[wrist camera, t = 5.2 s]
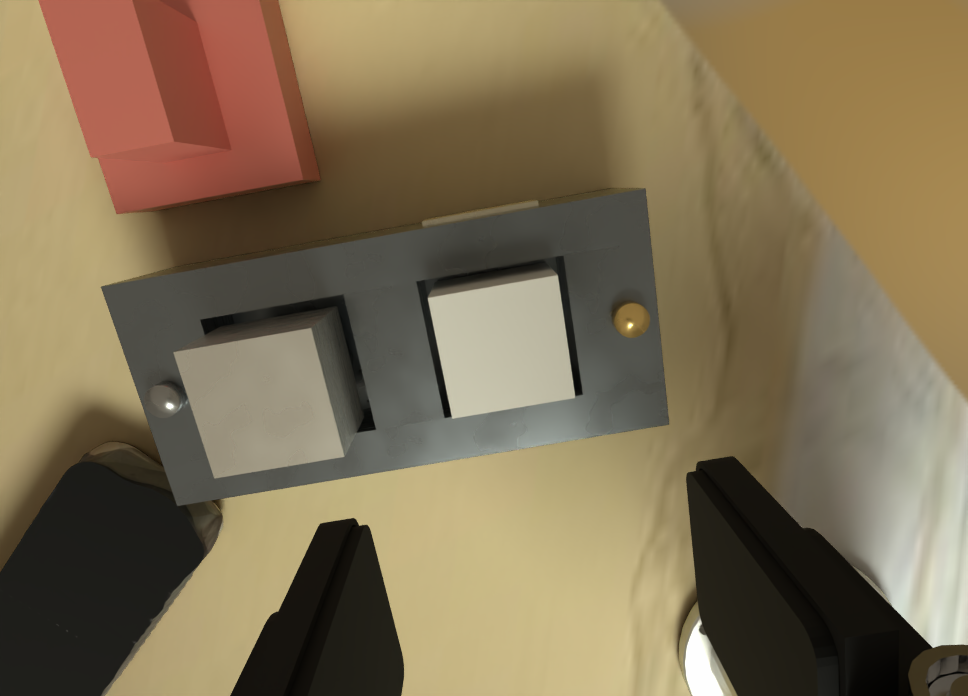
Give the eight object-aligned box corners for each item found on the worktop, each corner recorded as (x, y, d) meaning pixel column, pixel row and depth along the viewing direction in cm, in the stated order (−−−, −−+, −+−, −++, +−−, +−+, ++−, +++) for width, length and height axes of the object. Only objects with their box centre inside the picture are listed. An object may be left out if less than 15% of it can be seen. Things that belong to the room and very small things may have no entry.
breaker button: (561, 368, 28) (575, 398, 24) (455, 386, 28) (452, 418, 24) (545, 262, 26) (557, 275, 22) (435, 281, 26) (427, 298, 23)
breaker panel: (634, 380, 31) (698, 460, 22) (231, 448, 32) (133, 552, 23) (611, 183, 29) (673, 182, 20) (173, 263, 30) (36, 297, 20)
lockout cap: (320, 180, 29) (263, 177, 21) (152, 211, 29) (34, 220, 21) (274, -13, 26) (191, -95, 19) (93, 22, 27) (-63, -44, 19)
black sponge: (109, 690, 37) (69, 744, 33) (-19, 620, 35) (-74, 669, 32) (249, 501, 34) (222, 538, 30) (114, 416, 32) (69, 444, 29)
